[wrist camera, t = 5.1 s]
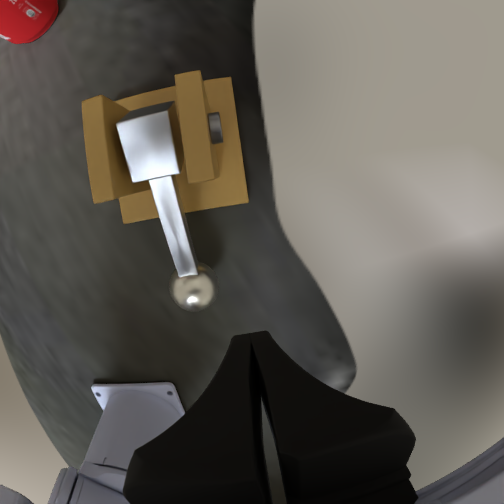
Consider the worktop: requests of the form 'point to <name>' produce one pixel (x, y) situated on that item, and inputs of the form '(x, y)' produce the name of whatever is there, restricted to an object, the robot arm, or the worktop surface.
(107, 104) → the bracket
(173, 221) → the tap lever
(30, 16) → the beverage can
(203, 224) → the worktop surface
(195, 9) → the worktop surface
